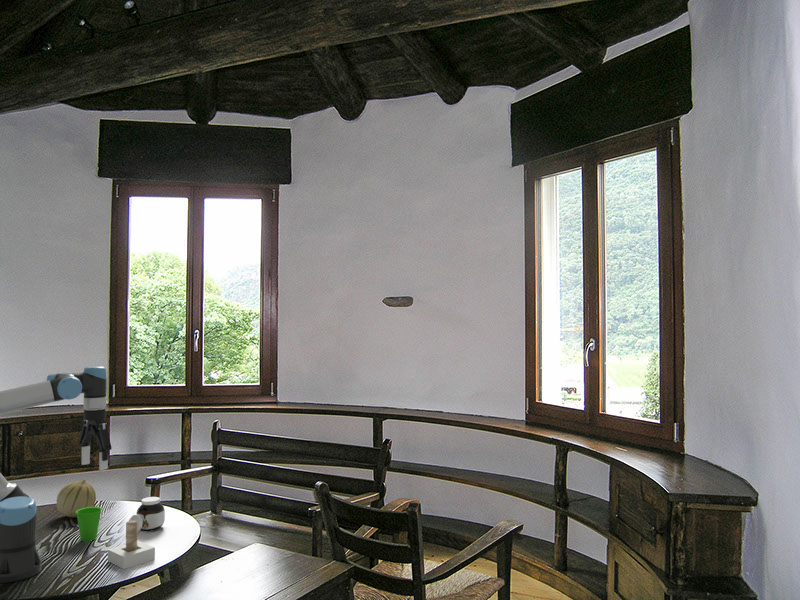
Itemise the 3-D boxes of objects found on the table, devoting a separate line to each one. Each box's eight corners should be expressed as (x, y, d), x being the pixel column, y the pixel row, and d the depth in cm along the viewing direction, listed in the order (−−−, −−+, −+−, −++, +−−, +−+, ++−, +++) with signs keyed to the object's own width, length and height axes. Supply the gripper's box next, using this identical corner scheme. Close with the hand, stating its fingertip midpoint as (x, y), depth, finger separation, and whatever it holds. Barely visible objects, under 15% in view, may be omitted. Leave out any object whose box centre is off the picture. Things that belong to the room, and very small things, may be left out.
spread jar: (167, 526, 253) (167, 496, 254) (153, 535, 242) (153, 505, 242) (138, 525, 254) (138, 495, 255) (123, 534, 243) (123, 504, 243)
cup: (69, 541, 236) (70, 511, 236) (91, 534, 244) (91, 505, 244) (85, 545, 232) (85, 515, 232) (107, 537, 240) (107, 508, 240)
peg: (129, 563, 215) (129, 524, 215) (123, 560, 217) (124, 522, 217) (139, 560, 218) (139, 522, 218) (133, 557, 220) (134, 519, 220)
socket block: (124, 569, 210) (124, 557, 210) (107, 561, 217) (107, 549, 217) (154, 559, 218) (154, 547, 218) (138, 551, 225) (138, 540, 225)
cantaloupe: (51, 516, 266) (52, 480, 266) (88, 509, 276) (89, 474, 276) (63, 524, 255) (63, 487, 255) (101, 516, 265) (101, 480, 266)
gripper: (122, 410, 228) (121, 469, 227) (89, 404, 243) (88, 460, 243) (101, 413, 222) (100, 473, 221) (69, 406, 237) (68, 463, 237)
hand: (94, 466), depth 232 cm, fingers open, 13 cm apart
